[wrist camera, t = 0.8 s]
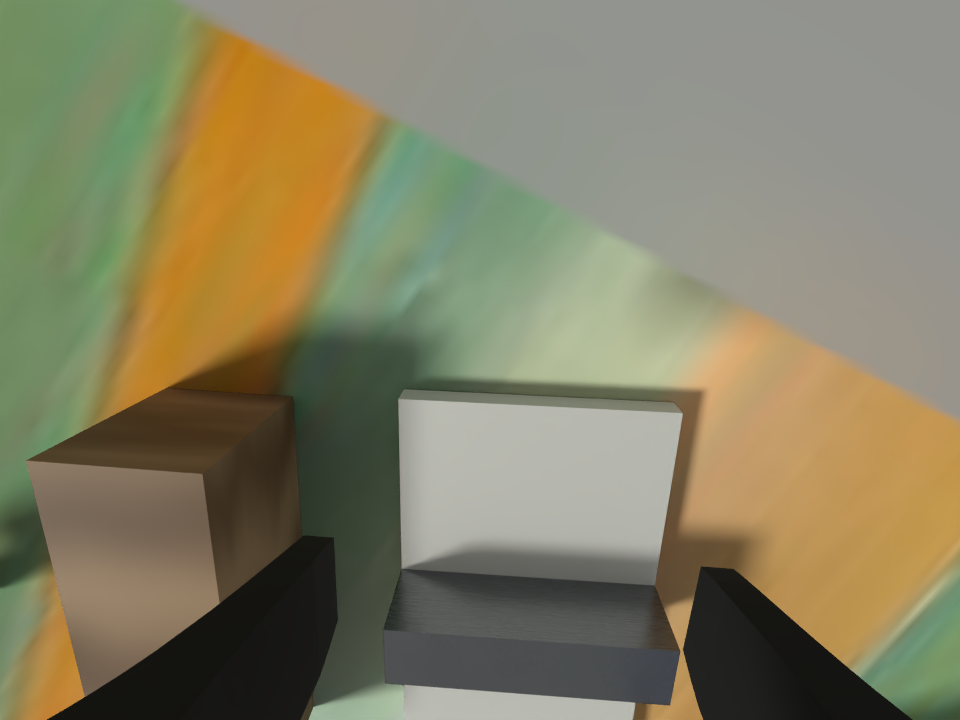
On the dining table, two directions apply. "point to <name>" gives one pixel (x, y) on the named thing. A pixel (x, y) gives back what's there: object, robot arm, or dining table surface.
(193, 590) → the walnut beam
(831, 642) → the dining table surface
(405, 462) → the fulcrum board
